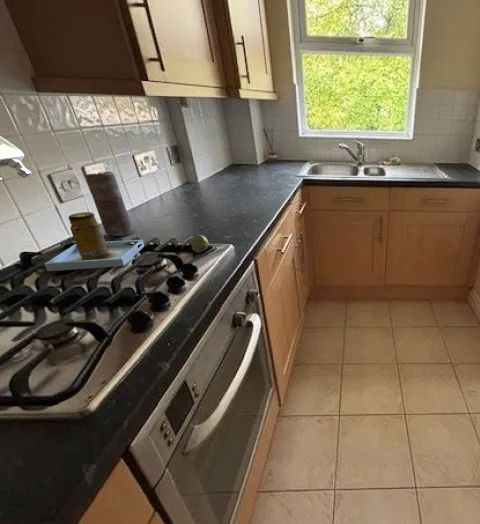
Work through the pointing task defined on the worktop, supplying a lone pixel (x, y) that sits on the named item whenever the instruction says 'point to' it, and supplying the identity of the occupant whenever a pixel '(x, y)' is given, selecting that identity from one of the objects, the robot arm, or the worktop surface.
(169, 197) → the worktop surface
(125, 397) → the worktop surface
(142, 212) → the worktop surface
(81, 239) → the condiment
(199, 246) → the lime
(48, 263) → the blue tray
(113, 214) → the candle
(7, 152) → the robot arm
